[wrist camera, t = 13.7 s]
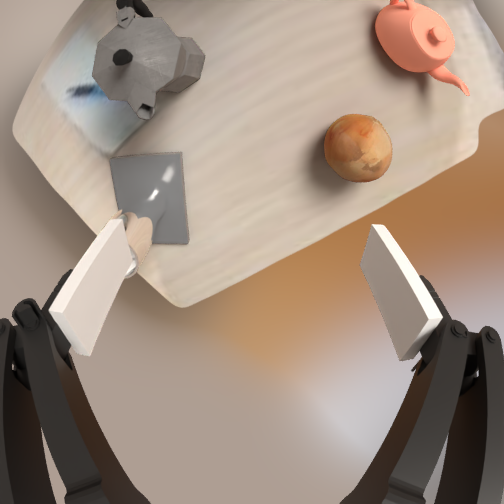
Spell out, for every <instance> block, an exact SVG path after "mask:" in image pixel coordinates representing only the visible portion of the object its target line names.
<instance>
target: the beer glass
mask: <svg viewBox="0 0 504 504" xmlns="http://www.w3.org/2000/svg"><path fill="white" fill-rule="evenodd" d="M166 209H167V201H166V198H165V196H164V194H163V193H162V192H161V191H160V190H158V189H157V188H154V187H150V186H146V187H142V188H140V189H138V190H137V191H136V192H135V194H134V196H133V198H132V200H131V202H130V203H129V204H128V205H127V206H125V207H124V208H122V209H121V210H119V211H118V212H117V213H116V214H115V215H113V216H112V217H111V218H110V219H123V224H124V228H125V232H126V236H127V241H128V245H129V248H130V252H131V256H132V260H133V261H132V263H131V265H130V267H129V269H128V271H127V273H126V275H125V277H124V279H127V278H130V277H132V276H133V275H134V274H135V273H136V272H137V271H138V268H139V267H140V265H141V264H142V262H143V260H144V259H145V257H146V255H147V253H148V251H149V249H150V247H151V244H152V241H153V237H154V233H155V228H156V224H157V221H158V220H159V219H160V218H161V217H162V216H163V215H164V214H165V212H166ZM108 222H109V221H108ZM108 222H107V223H108ZM107 223H106V224H107ZM106 224H105V226H106ZM105 226H104V227H105ZM104 227H103V228H104ZM101 231H102V230H101Z"/></svg>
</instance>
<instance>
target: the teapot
mask: <svg viewBox="0 0 504 504" xmlns="http://www.w3.org/2000/svg"><path fill="white" fill-rule="evenodd" d="M398 1H399V0H390V4H389V5H387V6H386V7H384V8H383V9H382V10H381V11H380V13H379V14H378V16H377V19H376V23H375V29H376V34H377V37H378V39H379V41H380V43H381V45H382V47H383V49H384V50H385V52H386V53H387V54H388V56H389V57H390V58H391V59H392V60H393V61H394V62H395V63H396V64H397V65H398V66H400V67H402V68H403V69H405V70H407V71H411V72H427V73H429V74H430V75H431V76H432V77H433V78H435V79H437V80H439V81H441V82H445V83H450V84H453V85H455V86H457V87H459V88H460V89H461V90H462V91H463V92H464V93H465V94H466V95H467V96H469V95H470V93H469V90H468V88H467V86H466V85H465V83H464V82H463V81H462V80H461V79H459V78H458V77H457V76H455V75H453V74H452V73H450V72H449V71H448V70H447V69H446V68H445V66H444V65H443V64H444V63H445V62H446V61H447V60H448V58H449V57H450V56H451V54H452V52H453V50H454V46H455V42H454V37H453V34H452V32H451V30H450V28H449V26H448V25H447V23H446V22H445V20H444V19H443V18H442V17H441V16H440V15H439V14H437V13H436V12H435V11H433V10H431V9H429V8H428V7H426V6H423V5H421V4H417V3H414V1H413V0H404V1H405V2H398Z"/></svg>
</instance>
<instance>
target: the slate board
mask: <svg viewBox="0 0 504 504" xmlns="http://www.w3.org/2000/svg"><path fill="white" fill-rule="evenodd" d="M110 166H111V172H112V178H113V184H114V189H115V195H116V200H117V205H118V209H119V210H121V209H122V208H124V207H125V206H127V205H128V204H129V203H130V202H131V200H132V198H133V196H134V194H135V192H136V191H137V190H138V189H140V188H142V187H146V186H150V187H154V188H157V189H158V190H160V191H161V192H162V193H163V194H164V196H165V198H166V201H167V209H166V212H165V214H164V215H163V216H162V217H161V218H160V219H159V220H158V221H157V224H156V228H155V233H154V237H153V241H152V243H165V244H188V243H189V240H190V239H189V230H188V221H187V210H186V200H185V188H184V175H183V161H182V152H171V153H155V154H141V155H130V156H120V157H112V158H111V159H110Z"/></svg>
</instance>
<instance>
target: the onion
mask: <svg viewBox="0 0 504 504" xmlns="http://www.w3.org/2000/svg"><path fill="white" fill-rule="evenodd" d="M324 151H325V158H326V161H327V162H328V164H329V165H330V166H331V167H332V168H333V169H334V171H335V172H336V173H337V174H338V175H339V176H341V177H342V178H343V179H346V180H349V181H352V182H370V181H373V180H376V179H378V178H380V177H381V176H382V175H383V174H384V173H385V172H386V171H387V169H388V168H389V166H390V163H391V160H392V143H391V139H390V137H389V135H388V133H387V132H386V130H385V129H384V127H383V126H382V124H381V123H380V122H379V121H377V120H376V119H375V118H374V117H372V116H366V115H359V114H349V115H345V116H343V117H341V118H339V119H337V120H336V121H335V122H334V123H333V124H332V125H331V126H330V127H329V129H328V131H327V133H326V136H325V141H324Z"/></svg>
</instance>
